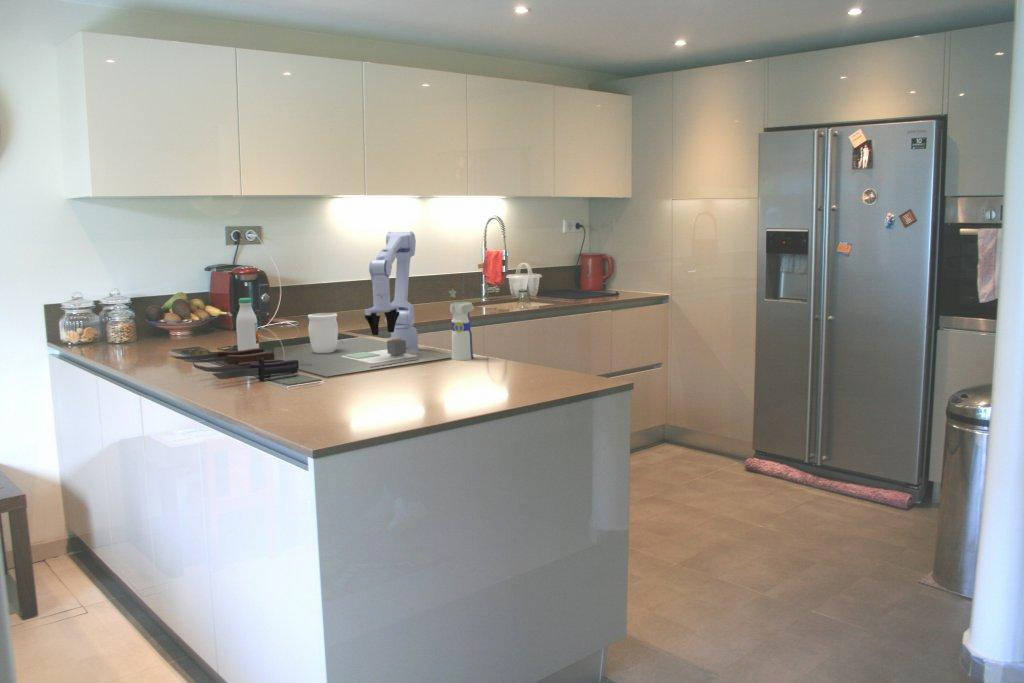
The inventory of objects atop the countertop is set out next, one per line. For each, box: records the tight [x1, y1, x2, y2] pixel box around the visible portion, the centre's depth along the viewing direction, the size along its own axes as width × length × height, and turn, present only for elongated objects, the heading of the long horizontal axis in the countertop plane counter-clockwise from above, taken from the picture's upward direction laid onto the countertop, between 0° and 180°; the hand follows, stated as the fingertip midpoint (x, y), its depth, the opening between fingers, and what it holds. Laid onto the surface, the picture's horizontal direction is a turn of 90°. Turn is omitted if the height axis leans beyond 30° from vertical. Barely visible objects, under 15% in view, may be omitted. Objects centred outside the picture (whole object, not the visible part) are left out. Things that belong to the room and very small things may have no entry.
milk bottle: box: [235, 297, 260, 351], centre depth 315 cm, size 8×8×20 cm
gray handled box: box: [386, 338, 407, 355], centre depth 289 cm, size 5×5×5 cm
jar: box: [307, 312, 339, 354], centre depth 302 cm, size 11×10×15 cm
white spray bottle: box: [448, 288, 475, 361], centre depth 289 cm, size 8×9×25 cm
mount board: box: [340, 348, 419, 369], centre depth 290 cm, size 19×20×6 cm
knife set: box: [170, 347, 300, 382], centre depth 270 cm, size 35×33×8 cm
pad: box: [343, 351, 380, 359], centre depth 291 cm, size 9×9×1 cm
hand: (383, 333), depth 288 cm, fingers open, 7 cm apart
